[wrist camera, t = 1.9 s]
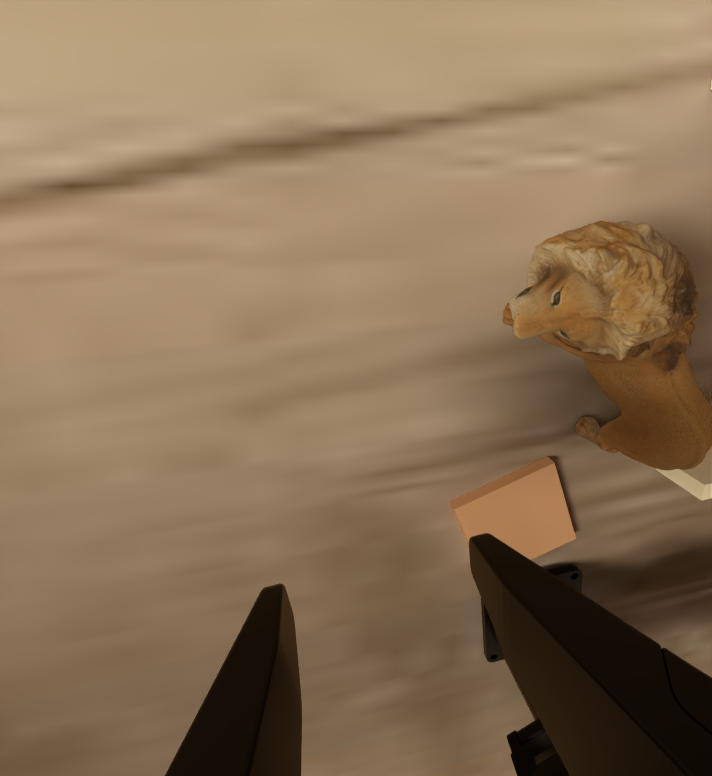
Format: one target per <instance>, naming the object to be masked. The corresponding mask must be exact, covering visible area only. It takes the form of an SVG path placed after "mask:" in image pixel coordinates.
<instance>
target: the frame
mask: <svg viewBox="0 0 712 776" xmlns="http://www.w3.org/2000/svg"><path fill="white" fill-rule="evenodd" d="M710 90H712V81H711V88H710ZM656 470H657V471H659V472H660V473H662V474H663V475H665V476H666V477H667V478H669V479H670V480H672V481H673V482H675V483H676V484H678V485H679V486H681V487H682V488H684V489H685V490H687V491H688V492H690V493H691V494H693V495H694V496H696V497H697V498H699V499H700V500H706V499H710V498H712V447H711V448H710V450H709V451H708V452H707V453H706V456H705V458H704V460H703V461H702V462H701V463H700V464H699V465H698V466H696V467H694V468H692V469H687V470H680V469H674V470H668V471H667V470H660V469H657V468H656Z"/></svg>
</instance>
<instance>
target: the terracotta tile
mask: <svg viewBox="0 0 712 776" xmlns="http://www.w3.org/2000/svg"><path fill="white" fill-rule="evenodd" d="M450 505H451V507H452V509H453V512H454V514H455V516H456V519H457V521H458V523H459V525H460V528H461V530H462V532H463V535H464V537H465V539H466V542H467V544H468V546H469V539H470V537H472V536H476V535H480V534H484V533H489V534H491V535H493V536H494V537H496V538H497V539H499V540H501V541H502V542H504V543H505V544H507V545H508V546H510V547H511V548H513V549H514V550H516V551H517V552H519V553H520V554H522V555H523V556H525V557H527V558H528V559H530V560H531V559H534V558H536V557H538V556H540V555H542V554H544V553H546V552H549V551H551V550H553V549H555V548H557V547H559V546H562V545H564V544H566V543H568V542H570V541H572V540H574V539H576V537H575V533H574V530H573V526H572V523H571V519H570V515H569V512H568V508H567V505H566V501H565V498H564V494H563V491H562V487H561V484H560V480H559V477H558V473H557V470H556V466H555V463H554V462H553V461H552V460H551V459H550V458H549V457H548V456H547V457H545V458H543V459H541V460H538V461H536V462H534V463H532V464H530V465H528V466H526V467H524V468H521V469H519V470H517V471H515V472H513V473H511V474H509V475H506V476H504V477H502V478H500V479H498V480H496V481H494V482H491V483H489V484H487V485H485V486H483V487H481V488H479V489H476V490H474V491H472V492H470V493H468V494H466V495H464V496H461V497H459V498H457V499H455V500H453V501H451V502H450Z"/></svg>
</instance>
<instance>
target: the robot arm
mask: <svg viewBox="0 0 712 776" xmlns="http://www.w3.org/2000/svg"><path fill="white" fill-rule="evenodd" d="M469 553H470V567H471V572H472V575H473V578H474V581H475V583H476V585H477V588H478V590H479V593H480V595H481V605H482V623H483V640H484V654H485V656H486V658H487V661H489V662H496V661H499V660H503V659H505V661H506V663H507V665H508V667H509V669H510V671H511V673H512V675H513V677H514V679H515V681H516V683H517V685H518V687H519V689H520V691H521V693H522V695H523V697H524V699H525V701H526V703H527V705H528V707H529V709H530V711H531V713H532V715H533V717H534V719H535V721H534V722H532V723H530V724H529V725H527V726H526V727H524V728H522V729H521V730H519V731H517V732H516V731H513V732H512V733H510V734H508V735H507V739H508V742H509V745H510V748H511V752H512V754H511V758H512V761H513V764H514V767H515V770H516V773H517V776H712V678H711V677H710V676H708V675H707V674H705V673H703V672H702V671H700V670H699V669H697V668H695V667H694V666H692V665H691V664H689V663H688V662H686V661H684V660H683V659H681V658H680V657H678V656H677V655H675V654H674V653H672V652H671V651H669V650H668V649H666V648H662V649H661V646H660V645H659V644H658V643H657V642H655V641H654V640H652V639H650V638H649V637H647V636H646V635H644V634H643V633H641V632H640V631H638V630H637V629H635V628H634V627H632V626H631V625H629V624H628V623H626V622H624V621H623V620H621V619H620V618H618V617H617V616H615V615H614V614H612V613H611V612H609V611H608V610H606V609H605V608H603V607H602V606H600V605H598V604H597V603H595V602H594V601H592V600H591V599H589V598H588V597H586V596H585V595H583V594H582V593H581V584H582V572H581V571H580V570H579V568H578V567H577V566H574V565H572V566H568V567H564V568H560V569H556V570H552V571H546V570H545V569H543V568H542V567H540V566H539V565H537V564H536V563H534V562H533V561H531V560H530V559H528V558H527V557H525V556H523V555H522V554H520V553H519V552H517V551H516V550H514V549H513V548H511V547H510V546H508V545H507V544H505V543H504V542H502V541H501V540H499V539H497V538H496V537H494V536H493V535H491V534H489V533H484V534H480V535H476V536H472V537H470V539H469ZM301 744H302V704H301V689H300V678H299V666H298V655H297V644H296V633H295V622H294V616H293V611H292V608H291V605H290V602H289V598H288V595H287V592H286V589H285V586H284V585H283V584H276V585H272V586H268V587H265V588H263V589H262V591H261V592H260V594H259V596H258V598H257V600H256V602H255V604H254V606H253V608H252V610H251V611H250V613H249V615H248V617H247V619H246V621H245V623H244V625H243V627H242V629H241V631H240V633H239V634H238V636H237V638H236V640H235V642H234V644H233V646H232V648H231V650H230V652H229V654H228V656H227V657H226V659H225V661H224V663H223V665H222V667H221V669H220V671H219V673H218V675H217V677H216V679H215V681H214V682H213V684H212V686H211V688H210V690H209V692H208V694H207V696H206V698H205V700H204V702H203V704H202V705H201V707H200V709H199V711H198V713H197V715H196V717H195V719H194V721H193V723H192V725H191V727H190V729H189V730H188V732H187V734H186V736H185V738H184V740H183V742H182V744H181V746H180V748H179V750H178V752H177V753H176V755H175V757H174V759H173V761H172V763H171V765H170V767H169V769H168V771H167V773H166V775H165V776H301Z"/></svg>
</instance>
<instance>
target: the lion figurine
mask: <svg viewBox="0 0 712 776" xmlns="http://www.w3.org/2000/svg"><path fill="white" fill-rule="evenodd" d="M532 257H533V258H532V261H531V262H530V264H529V271H528V279H527V282H528V288H526V289H525V290H524V291H522V292H521V293H520V294H518V295H516V296H515V297H513V298H512V300H511V301H510V303H508V304H507V305H506V308H505V310H504V312H503V322H504V323H505V324H507V325H511V326H513V331H514V334H515V336H516V337H517V338H519V339H522V340H523V339H526V338H535V337H537V336H539V337H541V338H542V339H543V340H545V341H546V342H548V343H551V344H554V345H557V346H559V347H561V348H563V349H565V350H567V351H569V352H571V353H573V354H575V355H578V356H581V357H583V360H584V362H585V364H586V366H587V368H588V370H589V371H590V373H591V374H592V376H593V377H594V379H595V381H596V382H597V384H598V385H599V387H600V388H601V389H602V390H603V392H604V393H605V394H606V396H607V397H608V398H609V399H610V400H611V401H613V402H614V403H615V404H616V405H617V406H618V407H619V408H620V409H621V412H622V414H621V416H620V417H618V418H616V419H615V420H612V421H610V422H608V423H607V424H605V425H603V426H602V427H601V428H600V426H599V424H598V422H597V421H596V420H595V419H594V418H592V417H590V416H586V417H582V418H580V420H579V421H578V422H577V423H576V426H575V430H576V432H577V433H578V434H579V435H581V436H582V437H584V438H586V439H588V440H590V441H592V442H594V443H595V444H597V445H598V446H599V447H600V448H601V449H602V450H605V451H608V452H612V453H616V452H618V451H620V452H622V453H623V454H625V455H626V456H628V457H630V458H632V459H634V460H637V461H639V462H642V463H644V464H646V465H649V466H651V467H654V468H657V469H660V470H667V471H668V470H674V469H680V470H687V469H692V468H694V467H696V466H698V465H699V464H700V463H701V462H702V461H703V460H704V458H705V456H706V453H707V452H708V451H709V450H710V448H711V447H712V407H711V405H710V404H709V403H708V401H707V400H706V399H705V397H704V396H703V394H702V393H701V391H700V390H699V388H698V385H697V383H696V381H695V379H694V376H693V374H692V371H691V369H690V366H689V364H688V360H687V357H686V354H685V351H686V350H687V348H688V347H689V346H690V345H691V341H690V336H691V333H692V332H693V330H694V328H695V327H694V324H693V323H692V321H693V320H694V319H695V318H696V317H697V311H696V309H695V307H694V306H693V304H694V303H695V302H696V301H697V299H698V298H699V295H698V293H697V292H696V291H695V284H694V281H693V276H692V273H691V271H690V269H689V264H688V261H687V259H686V257H685V256H684V255H683V254H682V253H681V252H678V250H677V248H676V246H674V245H673V244H672V243H670V242H667V241H666V240H665V239H664V238H663V237H662V236H661V235H660V234H659V233H658V232H657V231H654V230H653V229H652V227H651V226H650V225H649V224H646V223H640V224H636V225H634V224H632V223H630V222H627V221H623V222H619V223H610V222H604V221H599V222H596V223H594V224H589V225H586V226H584V227H582V228H579V229H576V230H570V231H566V232H564V233H563V234H559V235H557V236H554V237H552V238H549V239H547V240H546V241H544V242H543V243H541V244H540V245H538V246H536V248H535V251H534V253H533V256H532Z"/></svg>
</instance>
